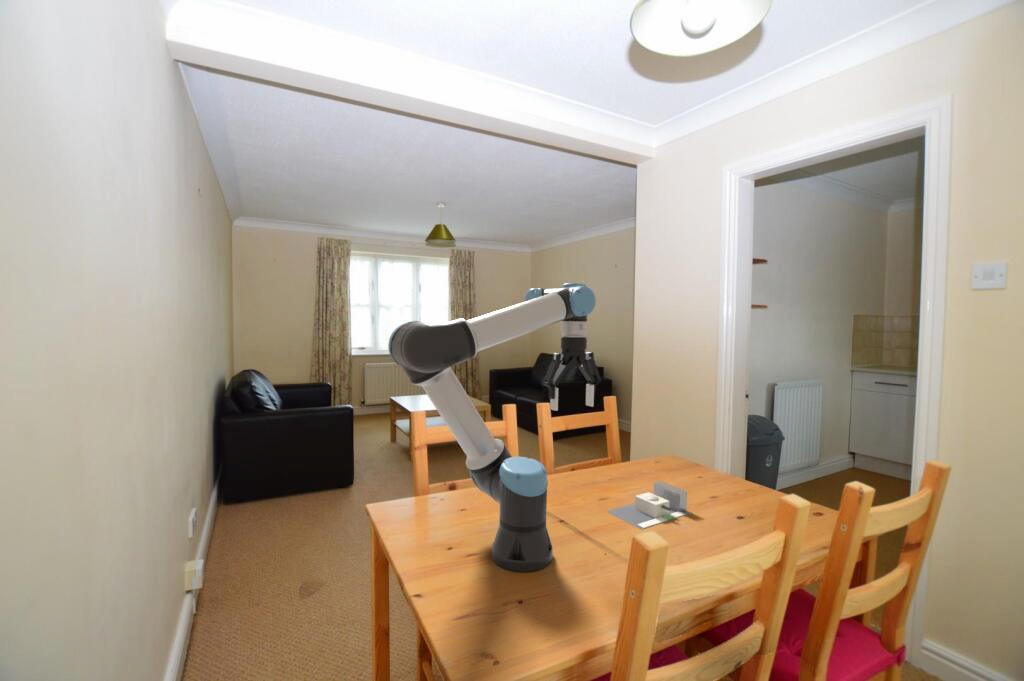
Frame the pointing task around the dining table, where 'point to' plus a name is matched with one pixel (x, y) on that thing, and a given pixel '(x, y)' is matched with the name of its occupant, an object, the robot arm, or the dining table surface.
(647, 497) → the gauge carriage
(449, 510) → the dining table surface
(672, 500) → the upright metal panel
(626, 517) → the gauge board
